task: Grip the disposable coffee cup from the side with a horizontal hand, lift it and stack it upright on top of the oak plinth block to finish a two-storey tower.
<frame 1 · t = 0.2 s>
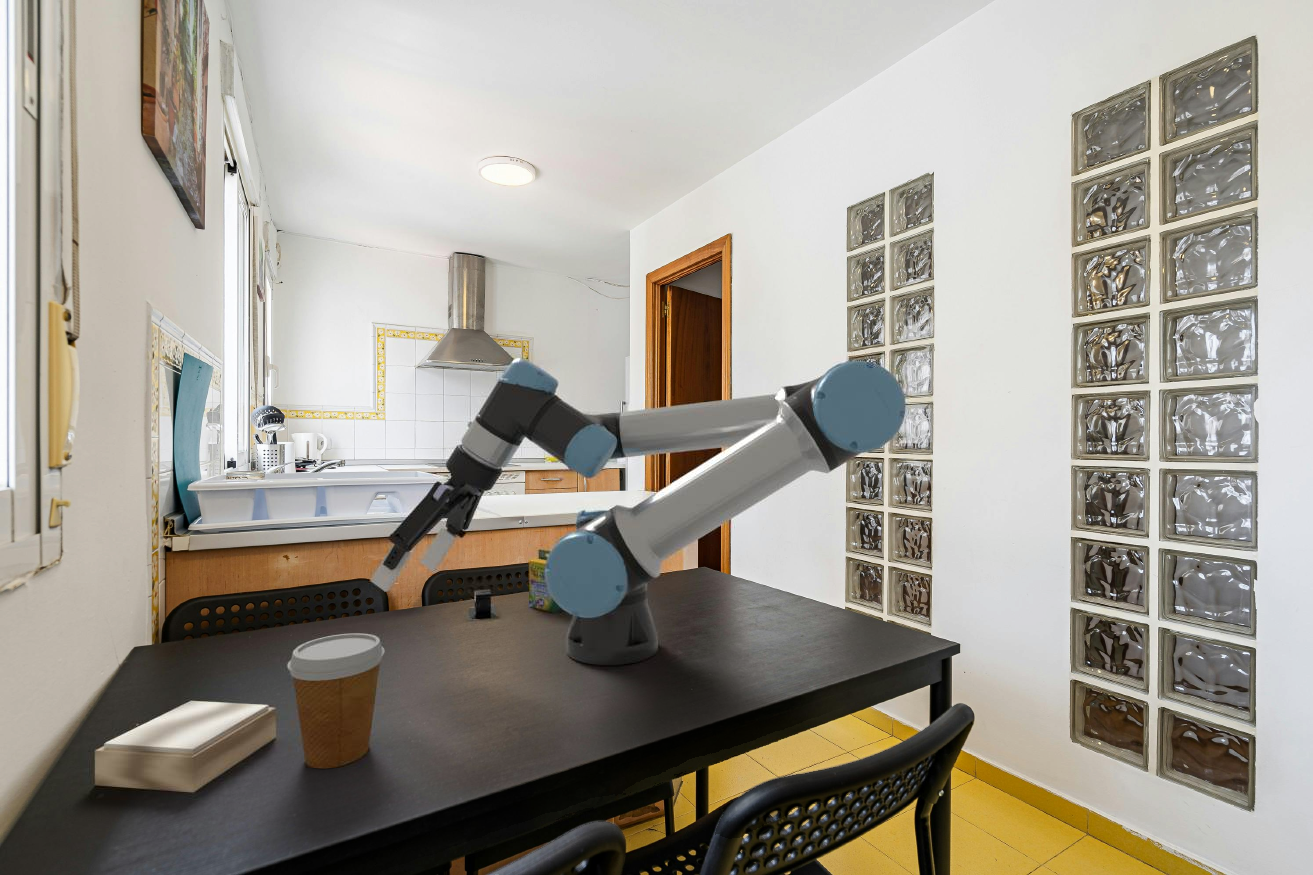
hand: (405, 575, 90), 15 cm above the table, tool tilted 35°, fingers open, 13 cm apart
black block on base: (482, 615, 122), on the table
crayon box: (546, 609, 124), on the table
plinth: (192, 759, 66), on the table
disposable coffee cup: (337, 755, 67), on the table
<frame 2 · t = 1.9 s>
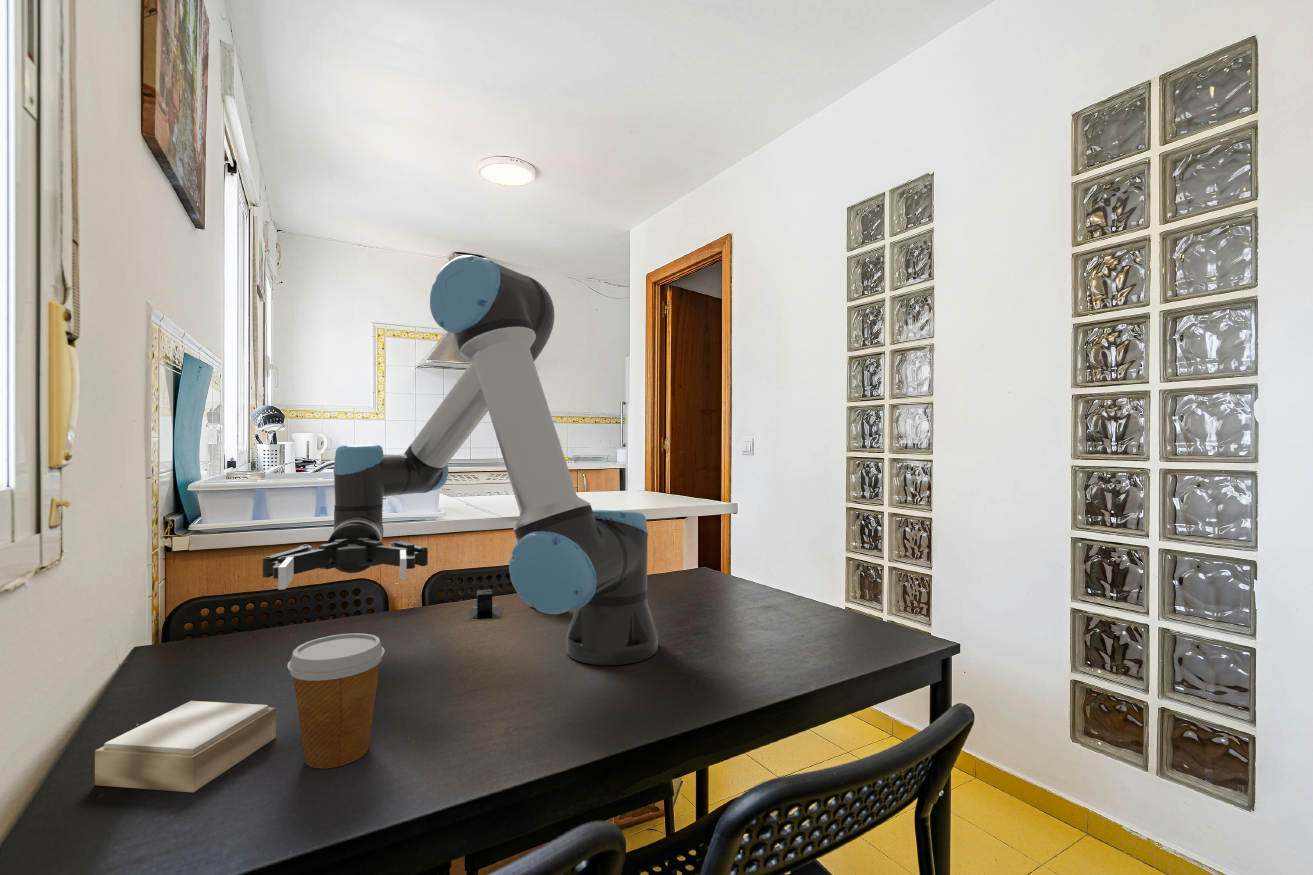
hand: (344, 573, 76), 18 cm above the table, tool horizontal, fingers open, 13 cm apart
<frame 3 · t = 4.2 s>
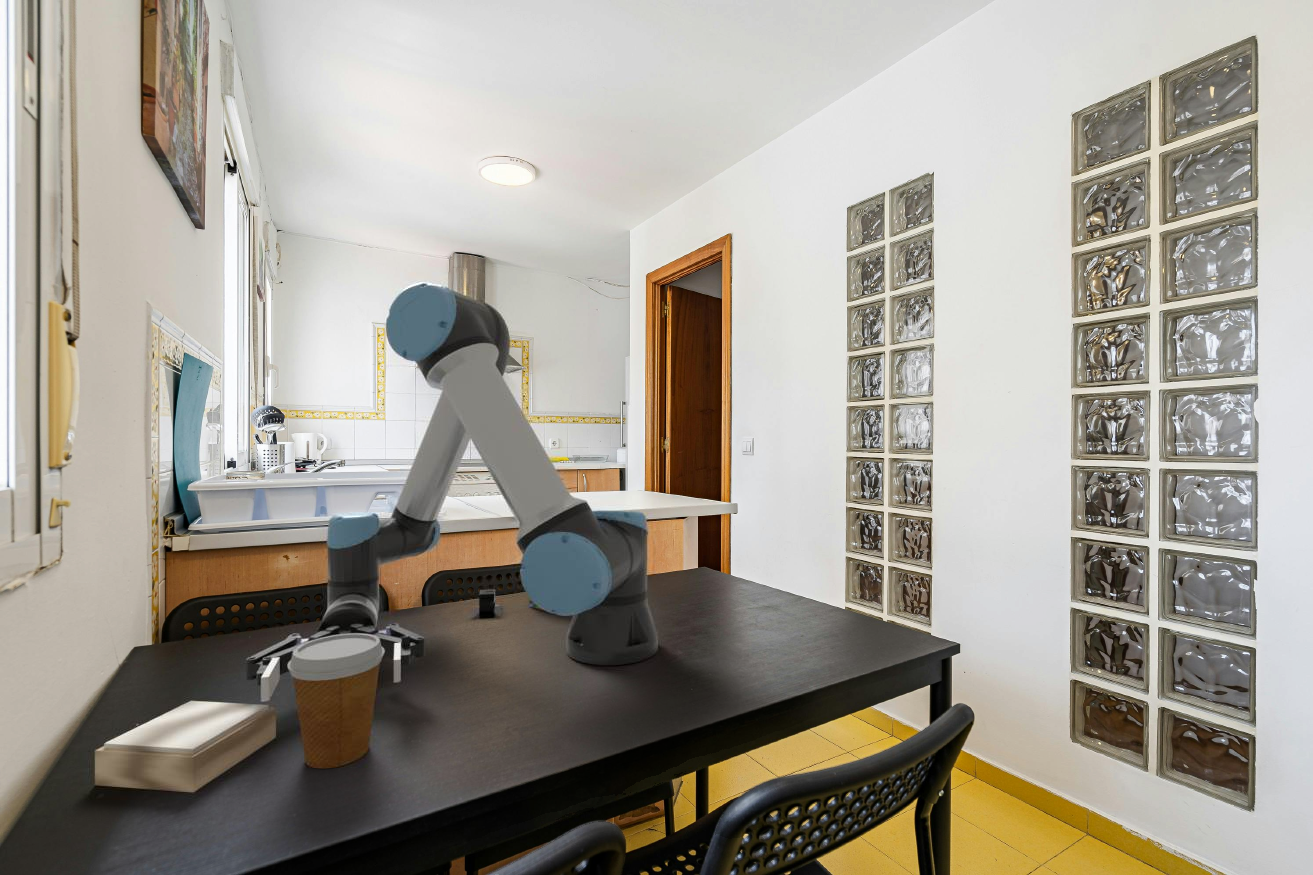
hand: (333, 679, 70), 7 cm above the table, tool horizontal, fingers open, 13 cm apart
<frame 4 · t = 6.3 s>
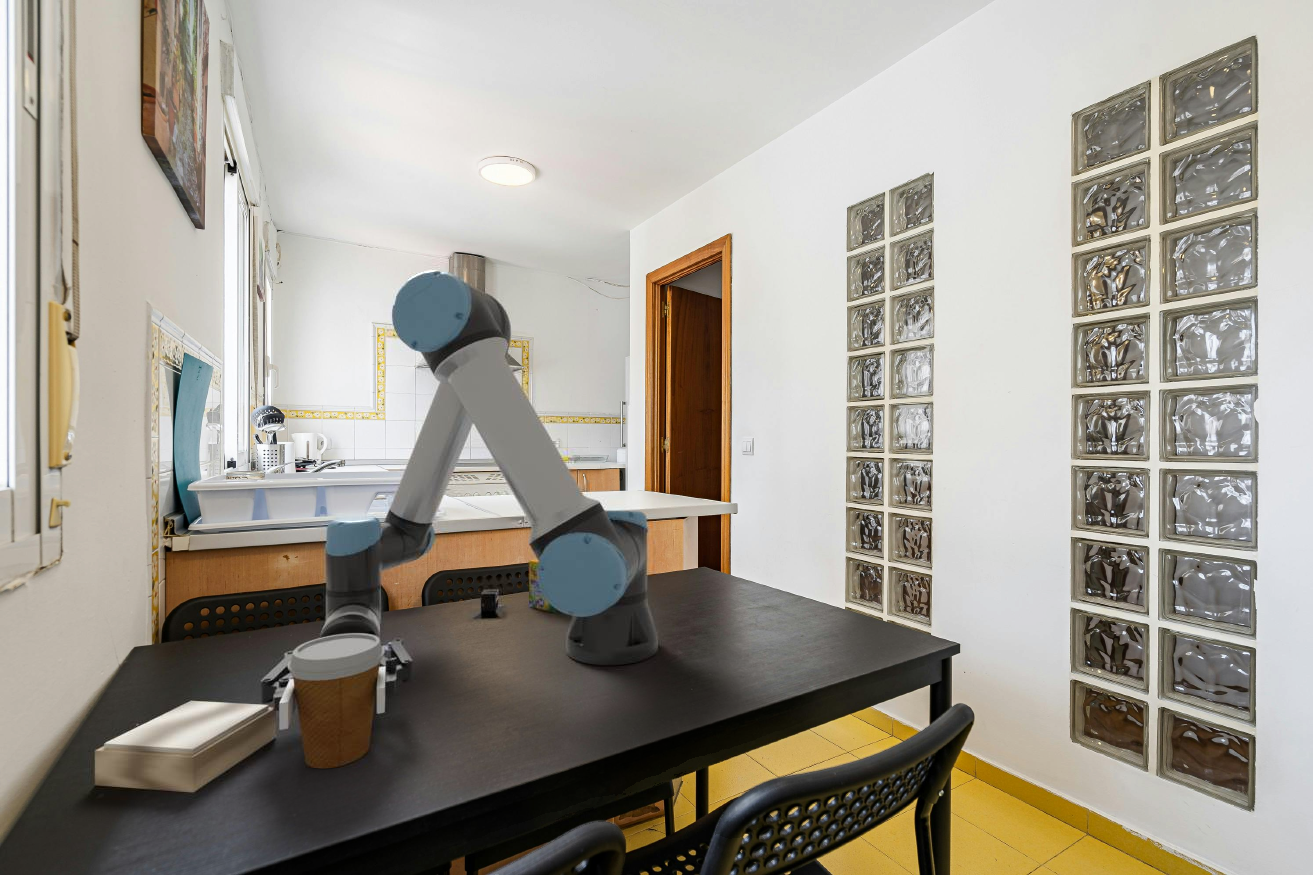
hand: (333, 707, 63), 7 cm above the table, tool horizontal, fingers closed on disposable coffee cup, 8 cm apart
disposable coffee cup: (337, 755, 67), on the table, touching gripper
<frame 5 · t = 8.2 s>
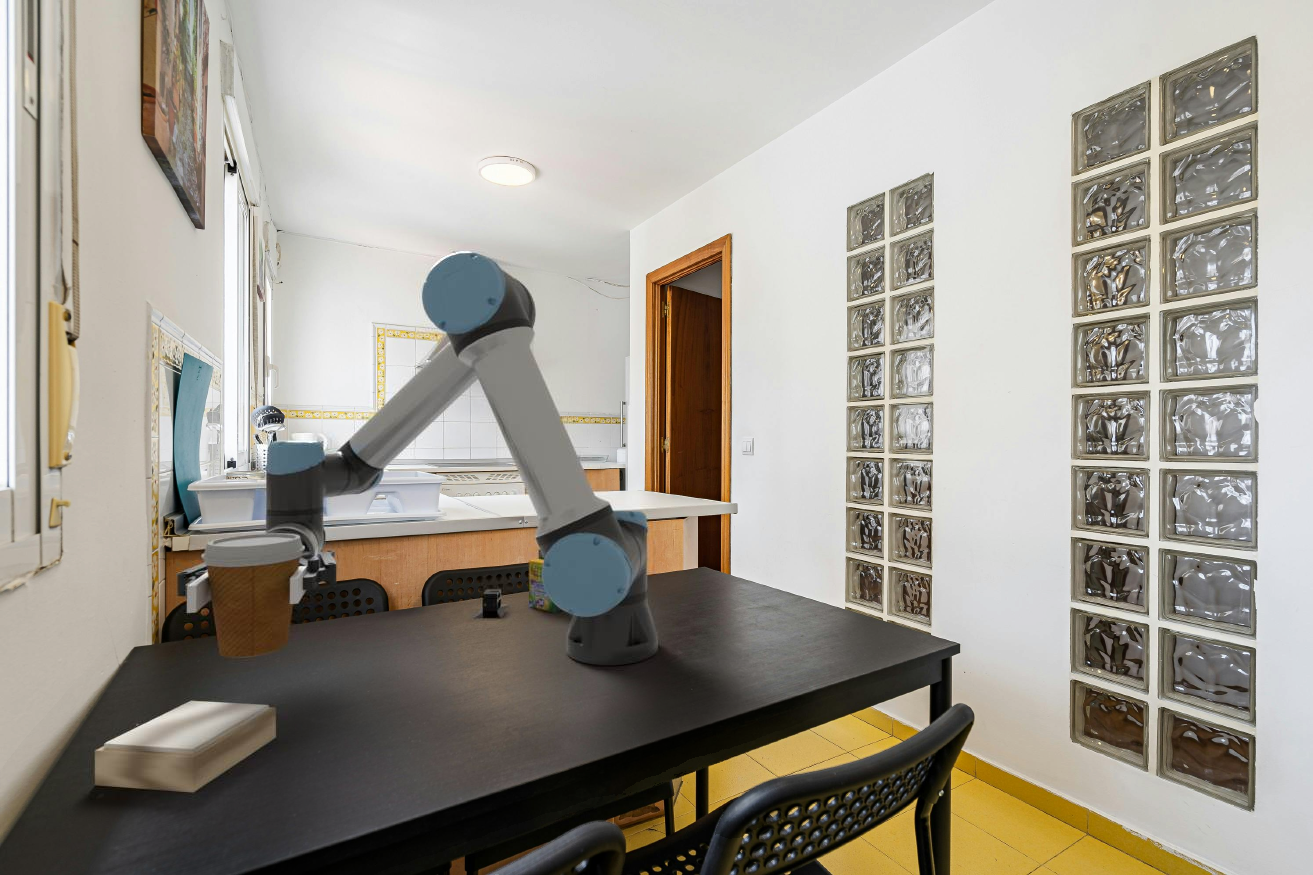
hand: (244, 594, 63), 19 cm above the table, tool horizontal, fingers closed on disposable coffee cup, 8 cm apart
disposable coffee cup: (254, 649, 67), point 12 cm above the table, touching gripper
when the fingers open (12 cm above the table, at t = 10.4 s): disposable coffee cup drops 1 cm, resting on plinth.
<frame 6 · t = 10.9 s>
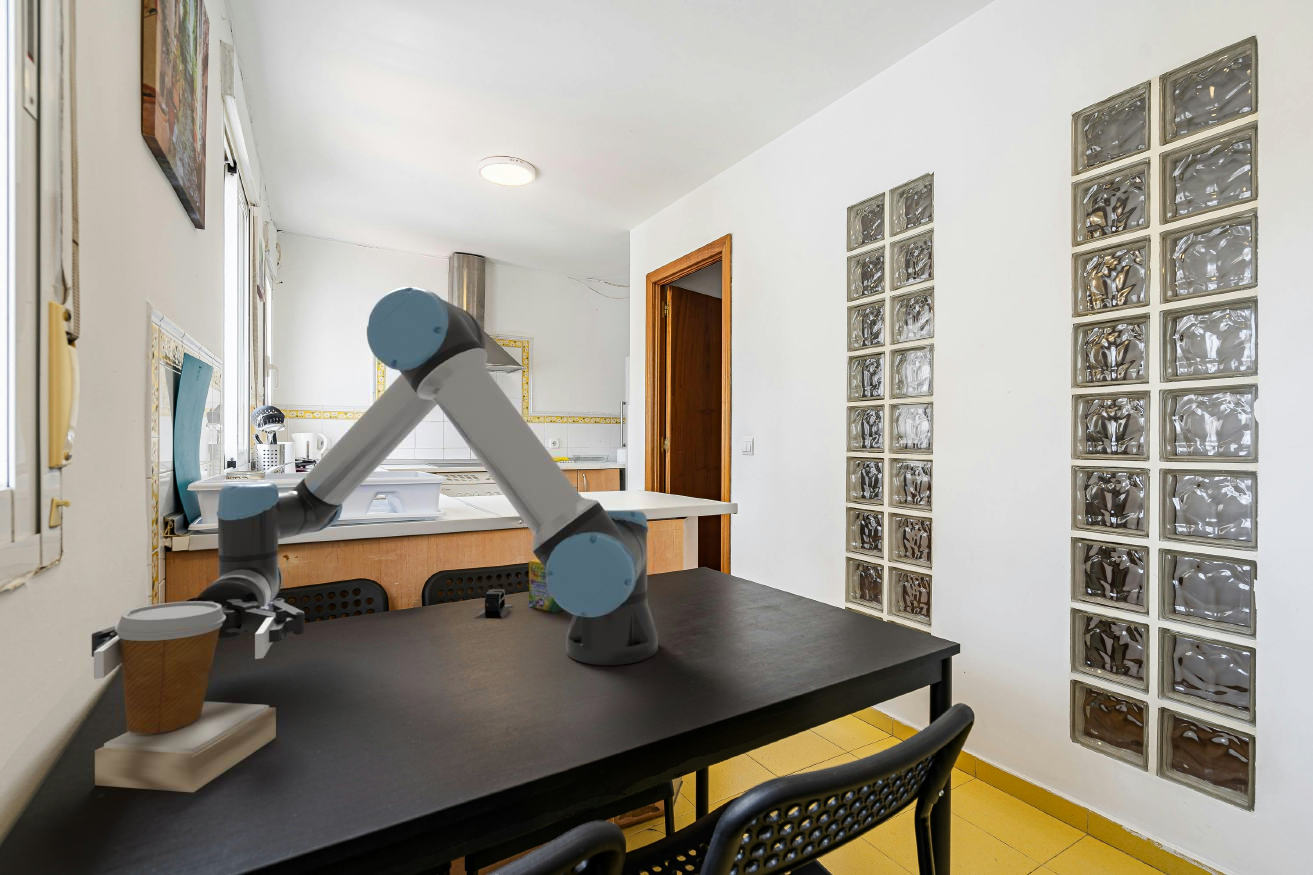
hand: (182, 655, 63), 12 cm above the table, tool horizontal, fingers open, 13 cm apart
disposable coffee cup: (164, 723, 66), point 4 cm above the table, touching gripper, plinth
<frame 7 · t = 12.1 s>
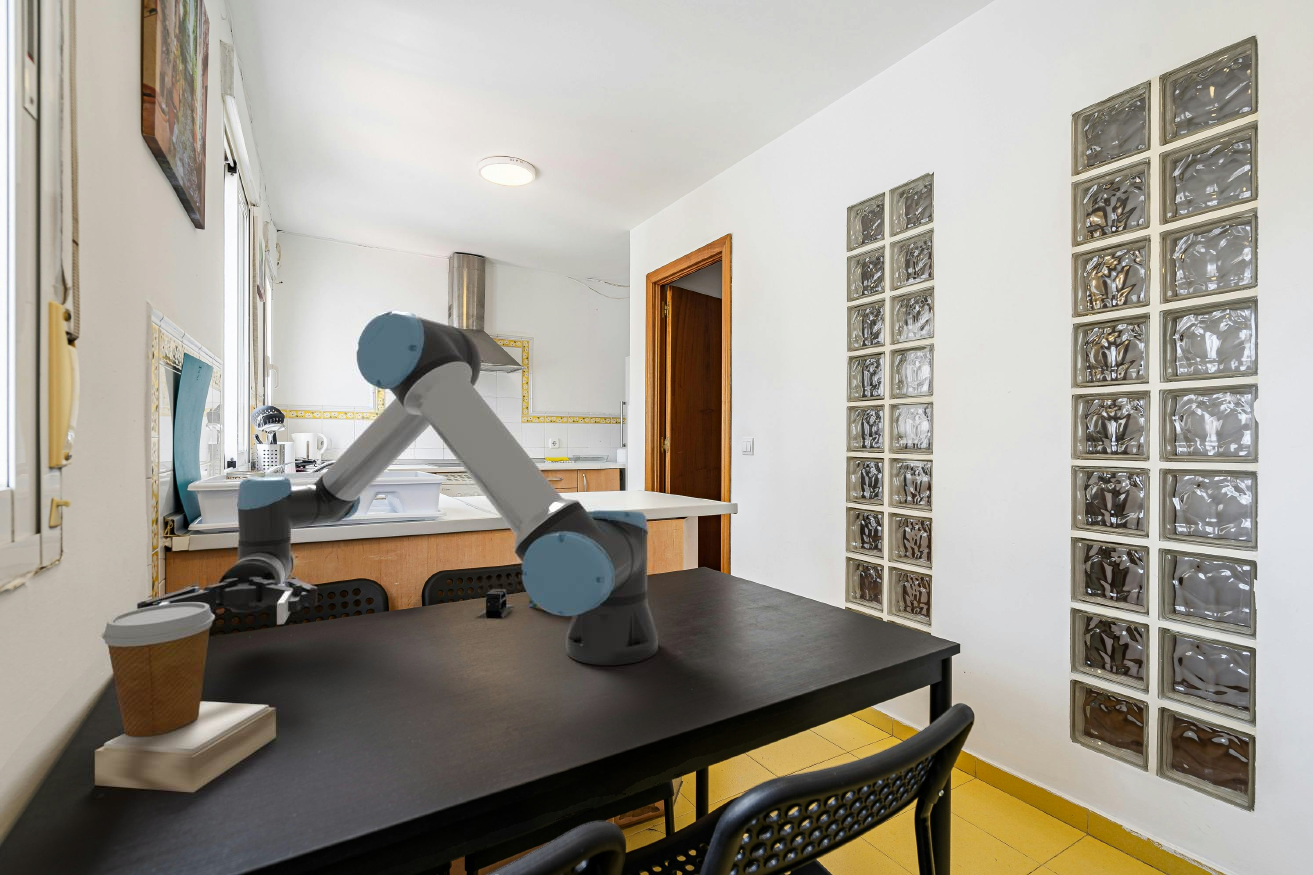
hand: (216, 620, 75), 13 cm above the table, tool horizontal, fingers open, 13 cm apart
disposable coffee cup: (162, 724, 66), point 4 cm above the table, touching plinth
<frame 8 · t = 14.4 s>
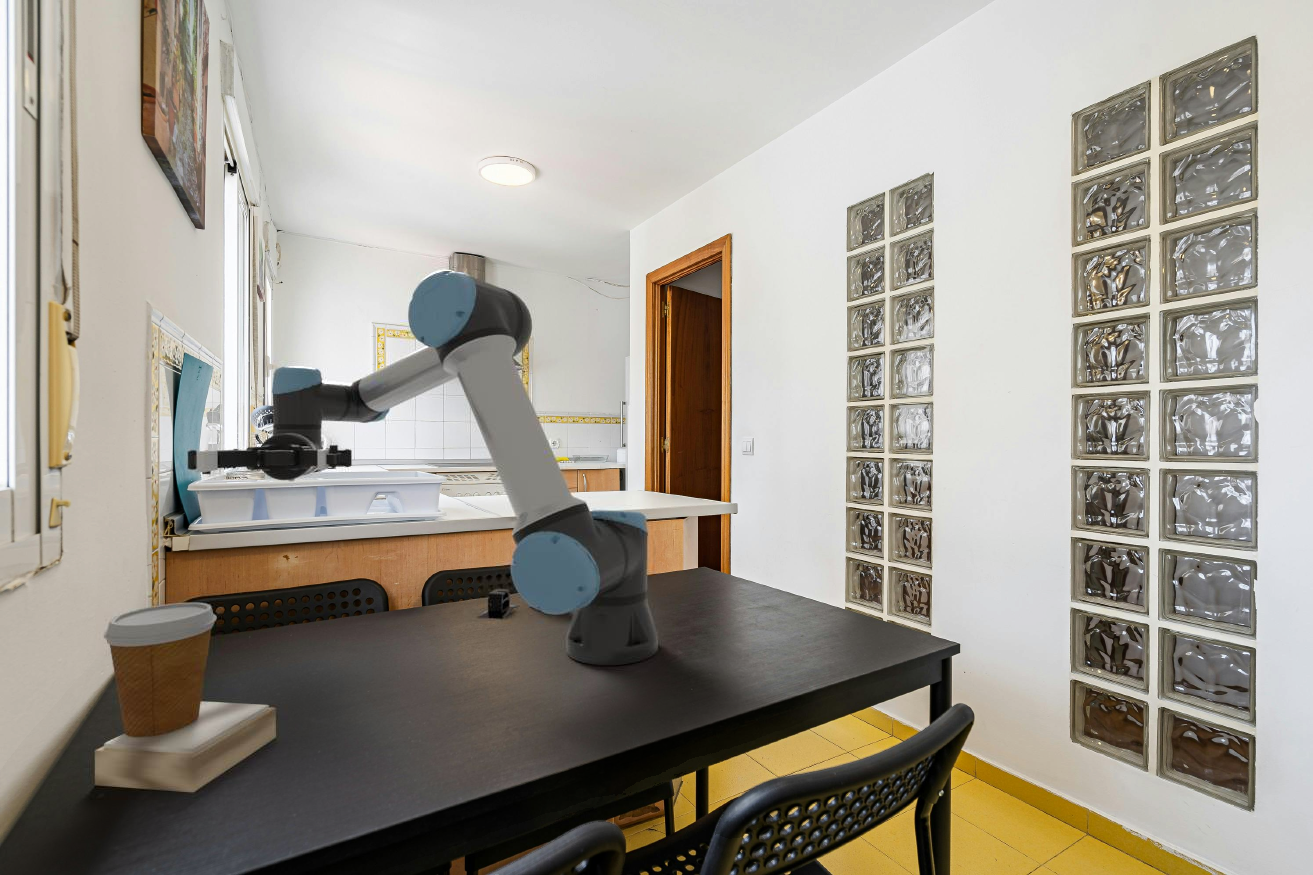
hand: (262, 460, 80), 32 cm above the table, tool horizontal, fingers open, 13 cm apart
at the end: disposable coffee cup inside the target area on the plinth (3.0 cm from its centre), point 3.8 cm above the plinth's base; disposable coffee cup tilted 0°; the gripper is holding nothing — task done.
